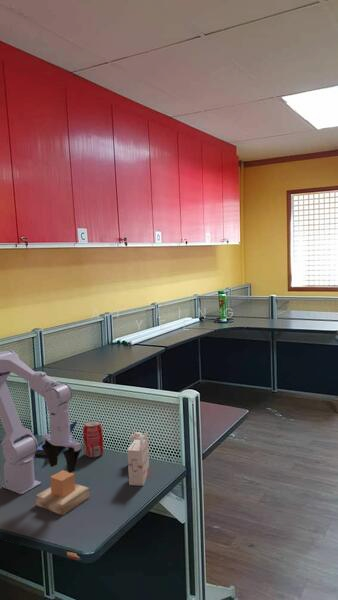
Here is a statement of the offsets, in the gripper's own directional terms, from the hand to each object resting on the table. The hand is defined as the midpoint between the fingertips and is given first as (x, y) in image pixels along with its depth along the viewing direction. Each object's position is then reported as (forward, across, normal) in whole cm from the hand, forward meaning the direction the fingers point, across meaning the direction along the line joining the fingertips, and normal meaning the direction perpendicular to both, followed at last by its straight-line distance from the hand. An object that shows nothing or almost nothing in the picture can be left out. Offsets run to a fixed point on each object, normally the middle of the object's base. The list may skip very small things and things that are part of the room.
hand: (62, 468), depth 138 cm
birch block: (+10, -1, +1) cm, 10 cm away
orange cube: (+6, -1, +1) cm, 7 cm away
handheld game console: (+10, +30, -24) cm, 40 cm away
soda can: (+10, +13, -28) cm, 32 cm away
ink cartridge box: (+10, -13, -21) cm, 26 cm away
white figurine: (+10, -6, -30) cm, 32 cm away
